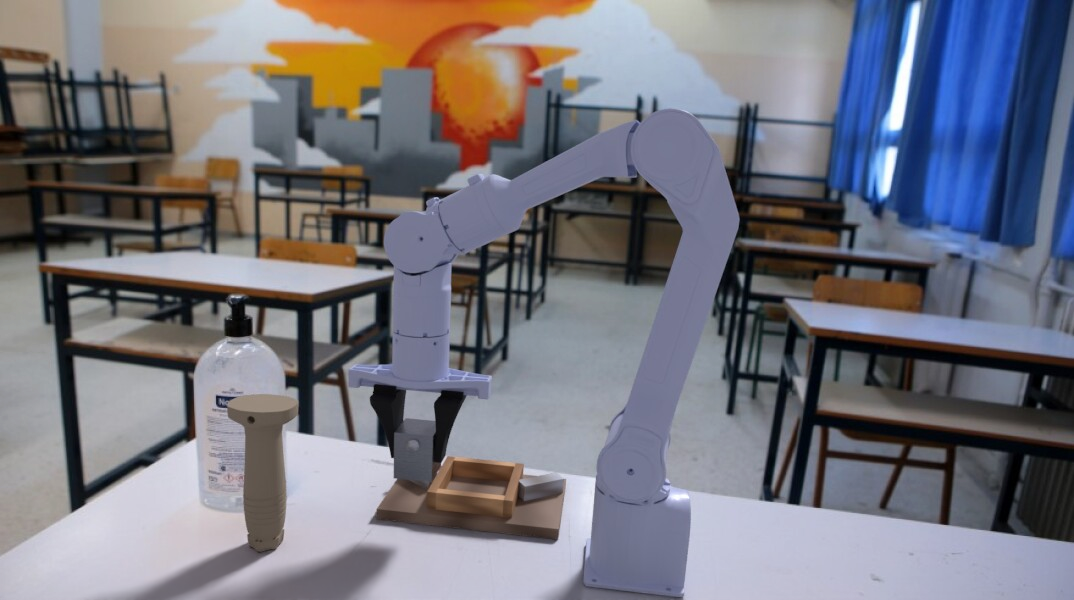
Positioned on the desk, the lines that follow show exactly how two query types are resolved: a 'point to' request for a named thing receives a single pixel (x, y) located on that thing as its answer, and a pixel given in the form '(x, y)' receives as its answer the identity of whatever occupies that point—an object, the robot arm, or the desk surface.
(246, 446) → the handle
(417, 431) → the block
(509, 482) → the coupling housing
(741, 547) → the desk surface
